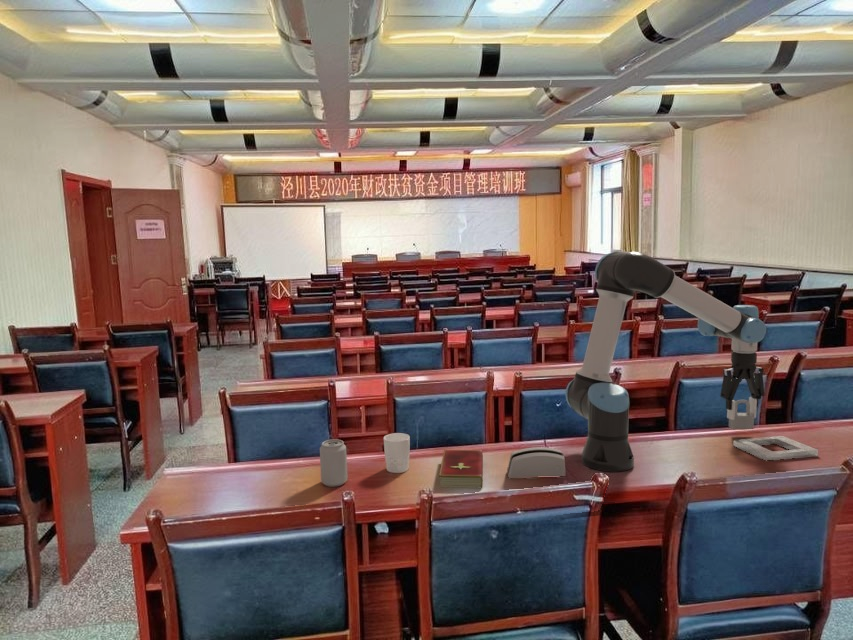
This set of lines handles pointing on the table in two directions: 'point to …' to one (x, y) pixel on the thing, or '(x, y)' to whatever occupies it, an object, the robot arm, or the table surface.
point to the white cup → (397, 452)
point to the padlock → (742, 418)
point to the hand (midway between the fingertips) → (741, 417)
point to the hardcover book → (462, 468)
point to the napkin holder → (536, 463)
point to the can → (333, 463)
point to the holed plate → (794, 451)
